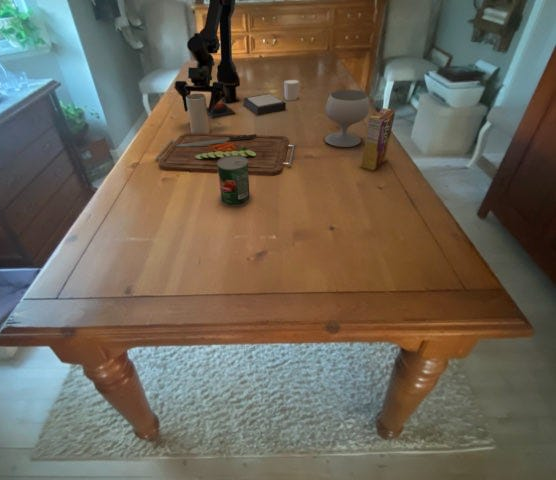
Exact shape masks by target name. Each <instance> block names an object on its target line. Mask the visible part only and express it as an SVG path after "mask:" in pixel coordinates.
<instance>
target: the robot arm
mask: <svg viewBox="0 0 556 480" xmlns="http://www.w3.org/2000/svg"><path fill="white" fill-rule="evenodd" d="M208 1H209V3H208V8H207V14H206V18H205V23H204V24H205V25H204V27H203V28H202V29H201V30H200V31H199V32H195V33H193V36H191V37H190V38H189V39H188V41H187V43H186V46H187V49H188V51H189V53H190V55H191V56H192V58H193V61H195V62H196V66H195V67H190V66H189V67H187V79H190V83H192V84H188V83H187V81H186V80H176V81H175V82H174V86H173V88H174V89H175V91H176V92H177V93H178V94H179V96H181V97H182V103H183V108H184V109H183V110H184V112H186V113H188V108H187V102H186V96H188V95H190V94H192V93H191V92H201V93H210V99H209V105H208V107H209V111H208V112H209V113H211V111H212V110H213V108H214V107H215V106H216V104H217V103H218V102H219V101H221V100H222V102H224V103H225V104H229V103H234V102H239V101H240V98H238V97H237V88H238V87H240V86H241V81H240V80H241V79H240V76H239V74H238V72H237V67H236V65H235V63H234V61H233V50H232V49H233V47H232V17H233V14H234V12H235V5H236V0H208ZM218 31H219V36H218ZM219 50H220V62H219V64H217V66H216V70H217V71H216V80H217V81H213V76H212V73H213V67H215V59H214V57H213V55H216V54H218V52H219ZM211 81H213V82H212V85H211Z"/></svg>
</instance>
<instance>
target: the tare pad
mask: <svg viewBox="0 0 556 480" xmlns="http://www.w3.org/2000/svg"><path fill="white" fill-rule="evenodd" d="M222 104H223V107H220V108H215V107H214V108H213V110H212V111H211V113H209V112H208V111H209V106H208V107H207V113H208V117H210V118H211V119H217V118H223V117H227V116H232V115H236V112H235V111H234V110H232V109H231V108H230V107H228V105H226V103H222Z"/></svg>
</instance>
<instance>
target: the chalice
mask: <svg viewBox="0 0 556 480" xmlns="http://www.w3.org/2000/svg"><path fill="white" fill-rule="evenodd" d="M369 113H370V100H369V96H368V94H367V93H366V92H364V91H361V90H357V89H339V90H335V91H333V92H331V93H330V94H329V97H328V99H327V101H326V103H325V115H326V116H327V118H328V119H329V120H330V121H331V122H334V123H335V124H337V125H338V126H339V127H340V130H341V131H339V132H333V133H330V134H328V135H326V136H325V138H324V140H325V142H326V143H327V144H329V145H330V146H333V147H340V148H348V147H349V148H350V147H355V146H357V145H359V144H360V143H361V141H362V140H361V138H360V137H359V136H358V135H357V134H354V133H350V132H348V129H349V127H351V126H352V125H355V124H357V123H360V122H362V121H363V120H364V119H365V118H366V117H367V116H368V115H369Z"/></svg>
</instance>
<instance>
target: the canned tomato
mask: <svg viewBox="0 0 556 480" xmlns="http://www.w3.org/2000/svg"><path fill="white" fill-rule="evenodd" d="M217 165H218V173H217V174H218V181H219V189H220V199H221V203H222V204H223V205H224V206H227V207H234V208H235V207H241V206H244V205H246V204H248V202H249V201H250V199H251V197H250V196H251V195H250V179H249V176H250V175H249V174H248V160H247V158H245V157H243V156H239V155H230V156H225V157H223V158H221V159H219V160H218V162H217Z"/></svg>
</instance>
